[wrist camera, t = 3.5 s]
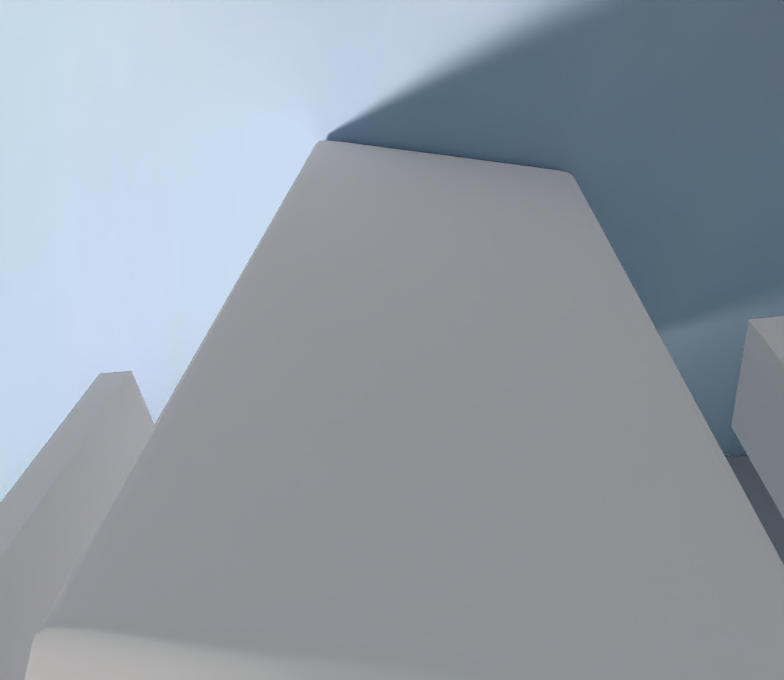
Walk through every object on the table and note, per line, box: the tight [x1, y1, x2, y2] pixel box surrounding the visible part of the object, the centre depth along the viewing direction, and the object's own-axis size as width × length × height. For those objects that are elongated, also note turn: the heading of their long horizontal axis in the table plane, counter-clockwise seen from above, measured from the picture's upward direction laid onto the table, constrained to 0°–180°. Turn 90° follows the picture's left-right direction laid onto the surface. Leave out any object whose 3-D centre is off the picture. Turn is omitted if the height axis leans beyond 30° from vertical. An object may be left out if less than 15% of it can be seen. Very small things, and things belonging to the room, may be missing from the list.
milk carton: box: [25, 140, 784, 680], centre depth 12 cm, size 7×7×19 cm
